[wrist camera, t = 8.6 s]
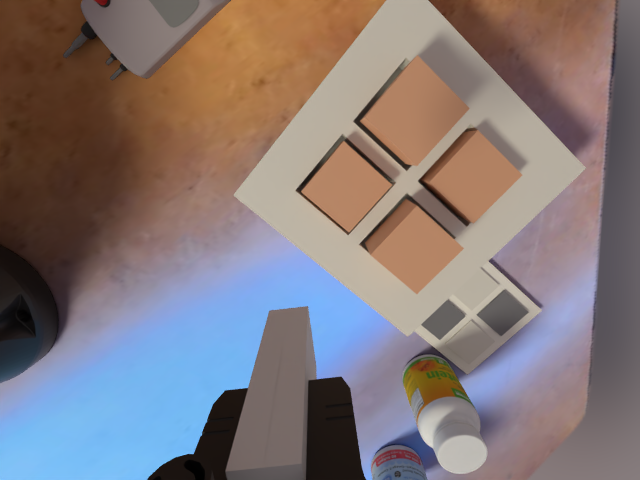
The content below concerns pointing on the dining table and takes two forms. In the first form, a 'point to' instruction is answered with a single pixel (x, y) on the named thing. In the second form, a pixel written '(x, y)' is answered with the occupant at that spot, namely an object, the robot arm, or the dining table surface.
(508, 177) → the button
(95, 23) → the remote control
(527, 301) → the card
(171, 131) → the dining table surface
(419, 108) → the button
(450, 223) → the board
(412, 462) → the pill bottle
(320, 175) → the button
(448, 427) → the supplement bottle
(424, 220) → the button
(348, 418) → the robot arm
